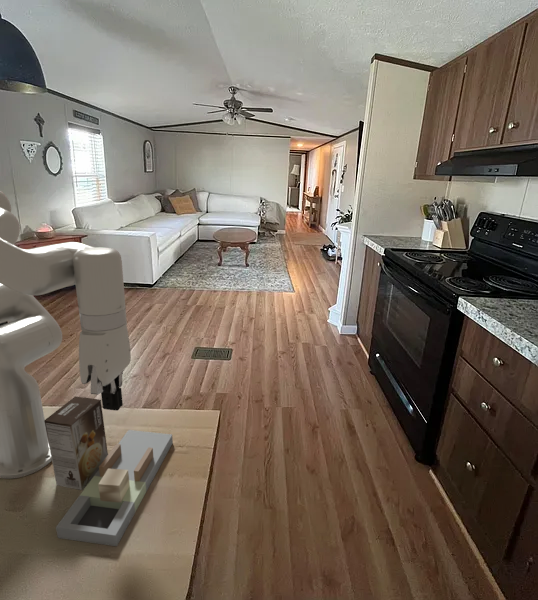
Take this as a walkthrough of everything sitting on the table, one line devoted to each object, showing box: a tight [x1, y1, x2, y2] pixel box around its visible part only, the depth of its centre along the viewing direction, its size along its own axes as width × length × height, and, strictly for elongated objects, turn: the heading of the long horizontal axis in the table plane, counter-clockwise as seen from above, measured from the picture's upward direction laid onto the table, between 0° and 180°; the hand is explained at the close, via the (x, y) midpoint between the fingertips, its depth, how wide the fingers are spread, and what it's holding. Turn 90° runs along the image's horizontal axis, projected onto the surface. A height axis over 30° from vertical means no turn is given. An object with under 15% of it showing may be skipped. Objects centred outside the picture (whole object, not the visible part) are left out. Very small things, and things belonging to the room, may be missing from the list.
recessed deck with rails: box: [55, 429, 174, 547], centre depth 78 cm, size 11×27×5 cm, turn 173°
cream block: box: [98, 468, 130, 502], centre depth 72 cm, size 4×4×4 cm
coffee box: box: [44, 396, 109, 491], centre depth 78 cm, size 9×6×16 cm
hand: (112, 407), depth 72 cm, fingers closed
